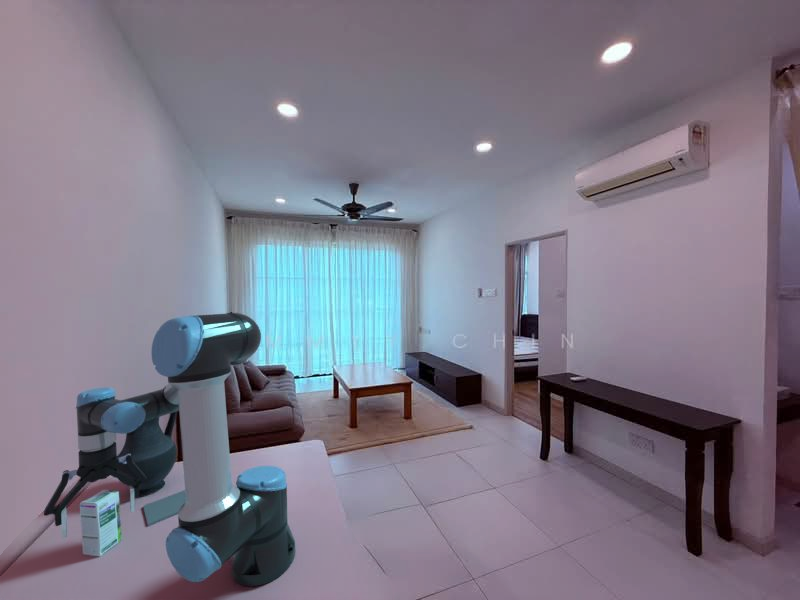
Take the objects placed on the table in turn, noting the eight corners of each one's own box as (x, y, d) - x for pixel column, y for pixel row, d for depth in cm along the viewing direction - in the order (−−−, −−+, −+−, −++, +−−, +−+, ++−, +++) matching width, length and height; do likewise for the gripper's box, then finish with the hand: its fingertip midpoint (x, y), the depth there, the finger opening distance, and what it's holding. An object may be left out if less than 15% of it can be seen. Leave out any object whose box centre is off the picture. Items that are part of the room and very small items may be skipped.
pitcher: (102, 501, 107) (98, 414, 106) (159, 468, 127) (156, 394, 126) (145, 506, 104) (141, 416, 103) (196, 471, 124) (193, 396, 123)
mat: (194, 506, 103) (194, 504, 103) (147, 526, 95) (147, 524, 95) (186, 490, 112) (186, 489, 112) (143, 507, 103) (143, 505, 103)
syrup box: (99, 557, 84) (97, 503, 83) (81, 555, 85) (79, 501, 84) (122, 540, 89) (119, 490, 89) (104, 538, 90) (102, 488, 90)
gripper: (153, 427, 98) (155, 494, 98) (29, 457, 80) (33, 538, 81) (156, 435, 92) (159, 506, 93) (25, 469, 75) (29, 556, 76)
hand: (100, 521), depth 87 cm, fingers open, 13 cm apart
